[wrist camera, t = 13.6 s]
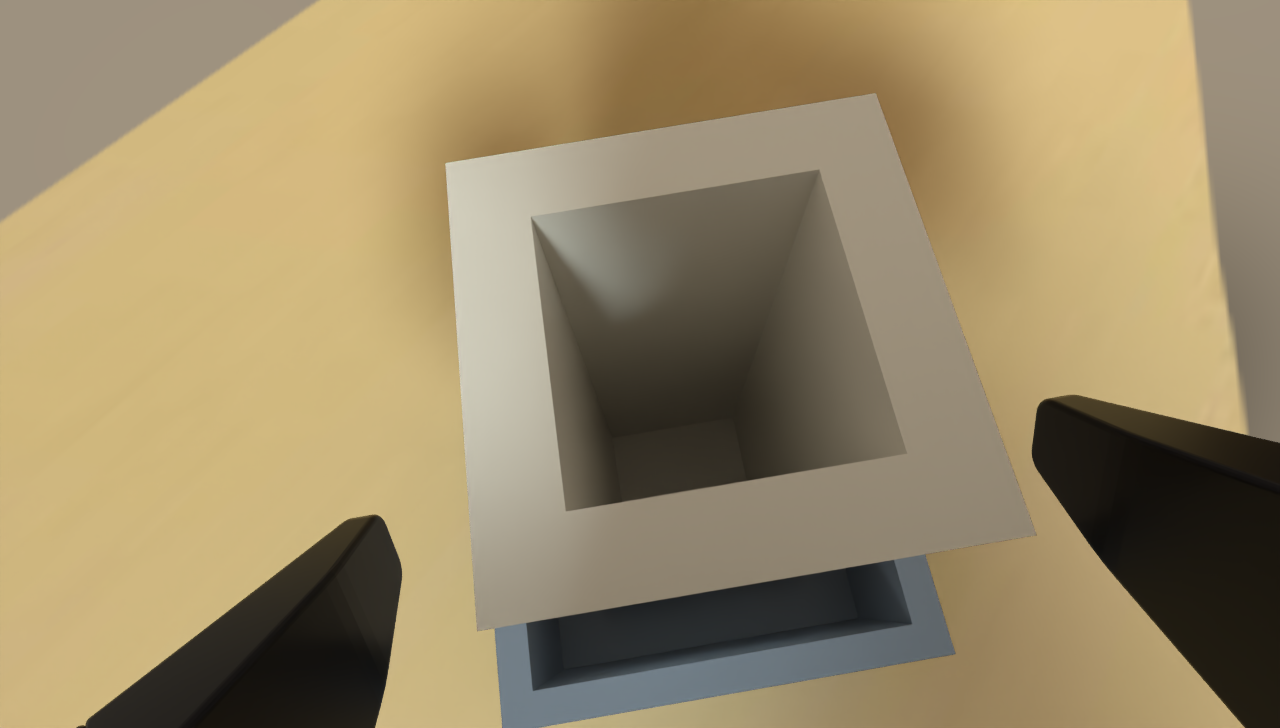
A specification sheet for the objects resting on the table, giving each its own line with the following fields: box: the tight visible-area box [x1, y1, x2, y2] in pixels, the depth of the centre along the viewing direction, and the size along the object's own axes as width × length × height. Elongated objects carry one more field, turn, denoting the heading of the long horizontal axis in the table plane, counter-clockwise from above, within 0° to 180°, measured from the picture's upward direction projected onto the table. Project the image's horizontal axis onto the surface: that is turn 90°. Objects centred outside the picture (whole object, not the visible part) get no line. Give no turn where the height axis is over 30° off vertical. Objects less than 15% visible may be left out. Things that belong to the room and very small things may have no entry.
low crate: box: [495, 554, 955, 728], centre depth 17 cm, size 10×10×5 cm
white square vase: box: [445, 93, 1036, 631], centre depth 13 cm, size 6×6×12 cm
